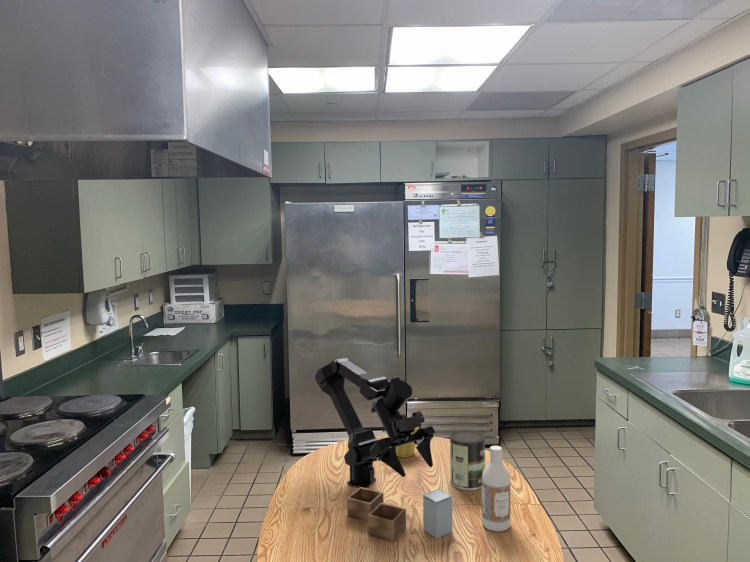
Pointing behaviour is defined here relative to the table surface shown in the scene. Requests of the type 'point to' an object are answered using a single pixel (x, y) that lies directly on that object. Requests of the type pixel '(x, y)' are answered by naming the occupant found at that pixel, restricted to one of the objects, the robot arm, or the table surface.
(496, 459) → the bath foam
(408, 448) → the plant pot
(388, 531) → the box
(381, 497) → the box
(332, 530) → the table surface
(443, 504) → the pale grey square pillar
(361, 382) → the robot arm
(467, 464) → the coffee can
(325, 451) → the table surface
